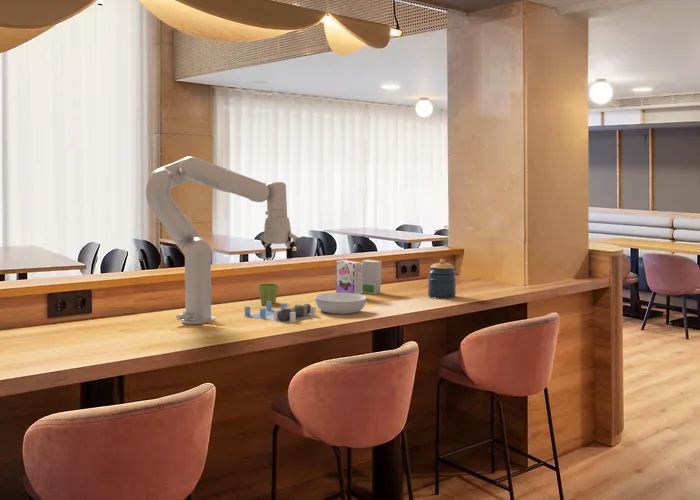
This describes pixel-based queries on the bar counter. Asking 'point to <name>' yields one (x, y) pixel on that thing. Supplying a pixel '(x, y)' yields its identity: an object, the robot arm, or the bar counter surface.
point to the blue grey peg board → (273, 314)
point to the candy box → (349, 277)
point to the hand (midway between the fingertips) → (279, 258)
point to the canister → (442, 280)
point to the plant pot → (268, 292)
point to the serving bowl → (340, 302)
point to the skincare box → (371, 276)
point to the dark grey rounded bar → (299, 309)
